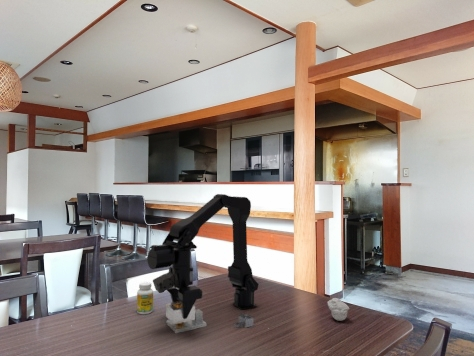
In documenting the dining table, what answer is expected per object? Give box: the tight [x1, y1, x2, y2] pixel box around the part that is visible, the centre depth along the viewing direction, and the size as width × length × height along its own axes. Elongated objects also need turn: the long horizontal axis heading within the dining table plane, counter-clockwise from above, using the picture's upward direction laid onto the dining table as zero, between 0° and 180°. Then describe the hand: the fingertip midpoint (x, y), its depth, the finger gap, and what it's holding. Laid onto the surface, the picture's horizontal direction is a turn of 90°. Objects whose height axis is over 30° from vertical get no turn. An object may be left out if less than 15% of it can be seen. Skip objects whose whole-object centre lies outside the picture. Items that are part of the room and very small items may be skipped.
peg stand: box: [165, 304, 207, 334], centre depth 106 cm, size 10×8×6 cm
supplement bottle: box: [136, 281, 154, 315], centre depth 116 cm, size 5×5×10 cm
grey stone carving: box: [327, 297, 350, 322], centre depth 111 cm, size 6×7×7 cm
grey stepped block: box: [233, 313, 255, 328], centre depth 106 cm, size 6×4×3 cm
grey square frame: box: [165, 301, 196, 324], centre depth 105 cm, size 7×7×4 cm
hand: (180, 314), depth 105 cm, fingers closed on grey square frame, 7 cm apart
